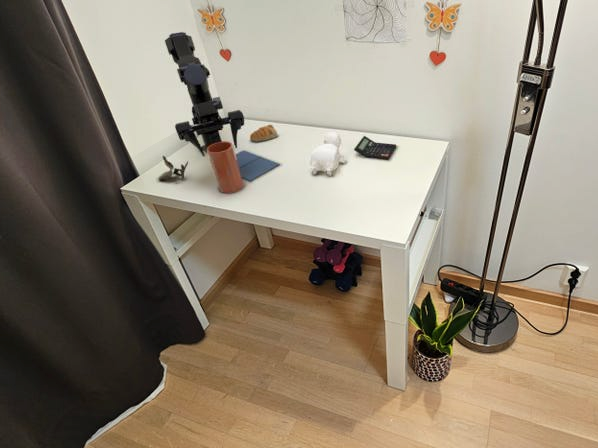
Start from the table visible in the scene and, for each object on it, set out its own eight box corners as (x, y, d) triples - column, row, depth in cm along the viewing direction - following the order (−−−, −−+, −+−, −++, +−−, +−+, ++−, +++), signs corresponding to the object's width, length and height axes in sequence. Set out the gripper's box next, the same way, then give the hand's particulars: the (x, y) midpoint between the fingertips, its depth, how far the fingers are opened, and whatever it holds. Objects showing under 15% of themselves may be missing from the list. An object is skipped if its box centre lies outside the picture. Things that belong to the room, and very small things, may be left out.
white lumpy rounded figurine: (337, 182, 123) (350, 146, 130) (331, 165, 116) (345, 127, 123) (312, 180, 125) (326, 144, 132) (304, 162, 118) (319, 125, 125)
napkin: (214, 166, 129) (214, 164, 129) (243, 151, 137) (243, 150, 136) (250, 181, 120) (250, 180, 120) (279, 164, 128) (279, 163, 127)
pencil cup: (215, 188, 118) (201, 149, 110) (234, 178, 122) (222, 139, 115) (229, 195, 115) (216, 155, 107) (248, 184, 119) (237, 145, 111)
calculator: (388, 160, 126) (388, 151, 125) (354, 156, 130) (353, 147, 128) (396, 146, 133) (396, 138, 132) (363, 143, 137) (363, 135, 135)
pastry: (255, 144, 140) (253, 134, 138) (247, 139, 145) (244, 129, 142) (279, 136, 145) (277, 126, 142) (270, 131, 149) (268, 121, 147)
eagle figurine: (193, 167, 127) (167, 160, 128) (183, 156, 120) (156, 150, 121) (184, 188, 125) (158, 182, 126) (174, 179, 118) (146, 172, 119)
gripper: (163, 95, 105) (182, 149, 104) (234, 81, 111) (252, 132, 110) (171, 114, 116) (188, 163, 114) (235, 101, 122) (252, 147, 121)
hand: (220, 151), depth 115 cm, fingers open, 9 cm apart
